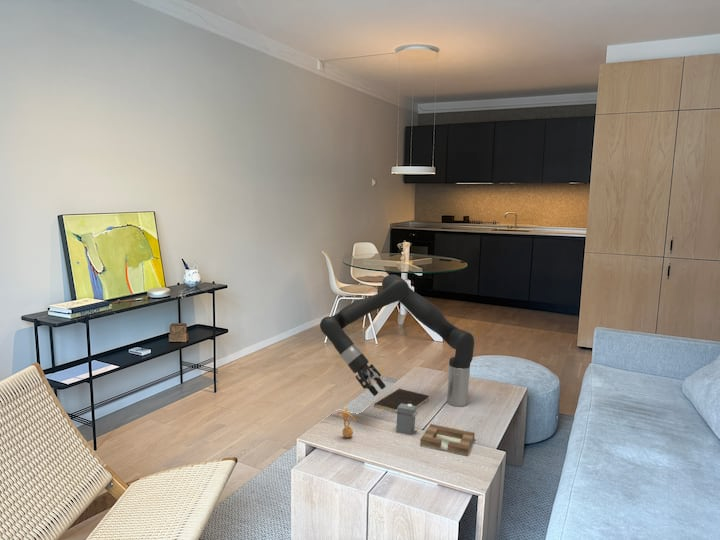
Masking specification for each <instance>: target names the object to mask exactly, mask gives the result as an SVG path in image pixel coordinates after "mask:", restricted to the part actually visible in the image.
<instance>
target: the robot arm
mask: <svg viewBox="0 0 720 540" xmlns="http://www.w3.org/2000/svg"><path fill="white" fill-rule="evenodd" d="M381 287H382V290H381V291H379V292H378V293H376V294H374V295H371V296H367V297H365V298H362V299H361V298H360V299H358V300H355V301H353V302H351V303H350V304H348V305H346V306H345V307H343V308H341V309H340V310H339V311H338V312H337V313H335V314H334V315H332V316H325V317H323V318H322V319H321V320H320V324H319V327H320V331H321V333H323V334H324V335H325V336H326V338H328V340H329V341H330V342H331V343H332V345H333V347H334V349H335V350H336V351H337V352H338V353H339V355H340V357H341V358H342V360H343V361H344V362H345V363H346V365H347V366H348V367H349V369H350V370H351V371H352V372H353V374H356V373H357V374H356V375H355V377H354V378H355V379H356V380H357V381H358V383H359V384H360V385H361V387H362V388H363V389H364V390H365V389H367V390H368V391H369V392H370V393H371V395H373V397H375V396H376V395H378V393H379V391H378V389H377V388H376V387H375V386H374V385H373V383H372V381H374V382H375V383H376V384H377V385H378V387H379V388H380V390H384V389H385V388H386V387H387V385H386V384H385V382H383V380H382V379H381V377H382V374H381V373H380V372H379V371H378V370H377V368H376V367H375V366H374V365H373V364H372V363H371V364H370V365H368V364H369V359H368V358H367V357H366V356H365V354H364V353H363V352H362V350H361V349H360V348H359V347H358V346H357V345H356V344H355V343H354V342H353V341H352V339H351V338H350V337H349V336H348V335H347V333H345V331H344V328H346V327H347V326H349V325H351V324H353V323H355V322H356V321H358V320H360V319H361V318H363V317H365V316H367V315H368V314H371V313H372V312H373V313H374V311H377V310H379V309H381V308H384V307H387V306H388V305H389V306H390V304H395V303H397V302H399V303H400V304H402V305H403V306H404V308H406V309H407V311H408V312H409V313H410V314H411V315H412V316H414V318H416V320H418V321H419V322H420V323H422V325H424V326H425V327H427V329H429V330H431V331H433V332H434V333H436V334H437V335H439V337H440V338H442V339H443V341H444V342H445V343H446V344H447V345H448V346H449V347H450V348H452V349H454V350H455V354H454V356H452V357H450V358H449V362H448V376H447V388H446V389H447V392H446V403H447V404H448V405H451V406H454V407H464V406H467V405H468V400H469V399H468V398H469V385H470V373H471V371H470V370H471V363H472V361H473V358H474V357H473V356H474V349H475V338H474V335H473V334H472V333H471V332H469V331H466V330H463V329H461V328H459V327H457V326H456V325H454V324H452V323H451V322H449V321H448V319H446V316H445V315H444V313H443V312H442V311H441V310H440V309H439V308H438V307H437V306H436V305H434V304H433V303H432V302H431V301H429V299H426V298H425V297H423V296H422V295H420V294H419V293H417V292H415V291H414V289H412V288H411V287H410V285H409V283H408V282H407V281H406V280H404V279H403V278H402V277H401V276H400V275H397V274H388V275H386V276H385V277H384V278H383V279H382V281H381Z"/></svg>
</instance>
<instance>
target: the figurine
mask: <svg viewBox="0 0 720 540" xmlns="http://www.w3.org/2000/svg"><path fill="white" fill-rule="evenodd" d="M348 410H349V409H348V407H345V408H344V409H343V410H340V411H338V412H337V413H336V418H338V417H339V414H341V415H342V421H343V426H344V427H343V428H342V433H341V434H342V436H343V437H344V438H351V437H352V436H353V434H354V430H353V428H352V427H351V426H350V423H351V420H350V418H349V417H351V418H352V419H353V420H354V421H355V422H357V419H356V418H355V417H354V416H353V415H352V414H351V413H350V412H349V411H348ZM348 416H349V417H348ZM346 421H347V422H348V423H346ZM346 424H347V425H346Z"/></svg>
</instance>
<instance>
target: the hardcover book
mask: <svg viewBox="0 0 720 540" xmlns="http://www.w3.org/2000/svg"><path fill="white" fill-rule="evenodd" d="M429 398H430V395H428V394H424V393H419V392H416V391H411V390H407V389H402V388H398V389H397V390H395V391H392V392H391V393H390V394H388V395H387V396H385V397H382V398H381V399H379V400H378V401H376V402H375V403H374V404H373V407H375V408H378V409H383V410H385V411H391V412H393V413H395V411H396V410H397V407H398V406H399V405H400V404H401V403H402V404H412V405H413V406H416V409H417V408H419V407H420V406H421V405H423V404H425V402H427V401H428V400H429Z"/></svg>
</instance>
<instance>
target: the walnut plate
mask: <svg viewBox="0 0 720 540" xmlns="http://www.w3.org/2000/svg"><path fill="white" fill-rule="evenodd" d="M475 434H476V433H475V432H474V431H468V430H463V429H459V428H453V427H448V426H444V425H438V424H432V423H429V426H428V427H427V428H426V431H424V433H423V435H422V436H421V438H420V439H419V446H420V447H424V448H428V449H433V450H437V451H442V452H446V453H451V454H457V455H461V456H466V457H468V455H469V454H470V453H469V452H470V450H471V447H472V446H473V443H474V441H475Z"/></svg>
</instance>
